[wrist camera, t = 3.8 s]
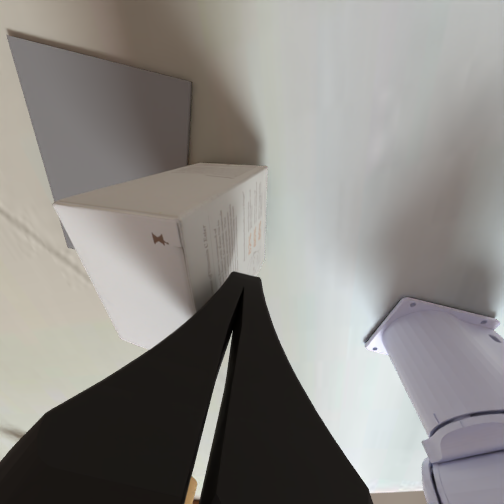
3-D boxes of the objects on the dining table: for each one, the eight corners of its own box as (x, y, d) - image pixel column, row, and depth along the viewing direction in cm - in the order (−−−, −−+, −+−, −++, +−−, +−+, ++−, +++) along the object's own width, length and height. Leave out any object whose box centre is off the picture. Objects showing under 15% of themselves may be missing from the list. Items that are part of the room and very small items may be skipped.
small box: (200, 161, 16) (43, 195, 7) (270, 164, 14) (176, 213, 6) (210, 251, 20) (116, 341, 11) (266, 261, 18) (206, 375, 10)
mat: (191, 82, 14) (190, 81, 13) (182, 273, 22) (181, 275, 21) (11, 36, 13) (6, 34, 13) (70, 246, 22) (67, 247, 21)
